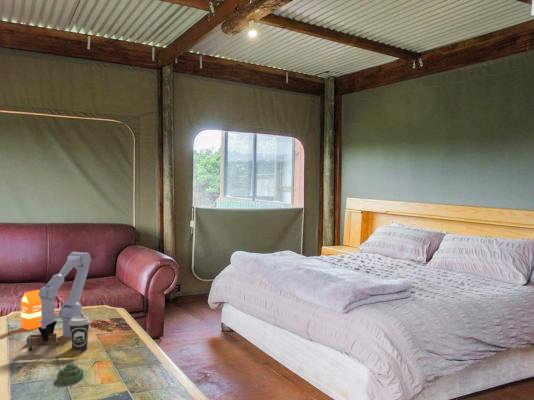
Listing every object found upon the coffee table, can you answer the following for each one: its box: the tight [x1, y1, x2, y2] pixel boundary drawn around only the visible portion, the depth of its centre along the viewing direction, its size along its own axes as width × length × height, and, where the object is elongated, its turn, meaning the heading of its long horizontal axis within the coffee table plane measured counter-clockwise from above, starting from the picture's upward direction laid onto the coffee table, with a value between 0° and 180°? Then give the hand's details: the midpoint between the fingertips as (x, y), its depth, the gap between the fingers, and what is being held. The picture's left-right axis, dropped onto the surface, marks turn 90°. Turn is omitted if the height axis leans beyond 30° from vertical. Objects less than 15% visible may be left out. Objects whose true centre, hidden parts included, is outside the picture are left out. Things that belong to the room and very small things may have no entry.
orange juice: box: [20, 288, 41, 331], centre depth 261 cm, size 8×9×20 cm
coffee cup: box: [69, 315, 91, 353], centre depth 226 cm, size 10×10×15 cm
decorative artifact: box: [56, 361, 84, 385], centre depth 193 cm, size 10×7×10 cm
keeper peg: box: [28, 339, 32, 351], centre depth 222 cm, size 2×2×6 cm
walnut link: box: [26, 332, 57, 346], centre depth 231 cm, size 12×6×4 cm, turn 99°
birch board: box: [16, 339, 59, 357], centre depth 226 cm, size 13×20×1 cm, turn 9°
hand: (48, 338), depth 231 cm, fingers open, 7 cm apart
